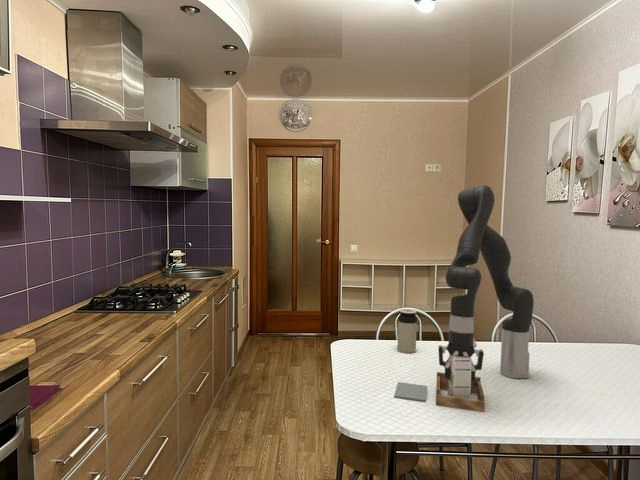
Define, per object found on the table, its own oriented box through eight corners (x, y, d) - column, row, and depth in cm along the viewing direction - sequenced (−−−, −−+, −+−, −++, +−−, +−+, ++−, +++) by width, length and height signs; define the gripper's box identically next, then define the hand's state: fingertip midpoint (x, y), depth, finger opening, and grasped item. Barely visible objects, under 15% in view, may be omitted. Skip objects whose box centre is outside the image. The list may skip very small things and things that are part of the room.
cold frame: (479, 393, 135) (480, 377, 135) (484, 411, 122) (484, 394, 122) (436, 387, 139) (436, 371, 139) (435, 404, 126) (436, 387, 126)
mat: (427, 387, 139) (427, 385, 139) (426, 402, 128) (426, 400, 128) (397, 383, 142) (397, 381, 142) (394, 397, 130) (394, 395, 130)
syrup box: (471, 403, 128) (472, 358, 127) (452, 402, 128) (454, 357, 127) (464, 395, 133) (466, 352, 133) (446, 394, 133) (448, 351, 133)
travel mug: (411, 354, 174) (413, 313, 173) (394, 351, 178) (395, 310, 177) (418, 350, 180) (419, 310, 180) (401, 346, 185) (402, 307, 184)
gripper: (484, 328, 131) (482, 378, 132) (438, 324, 135) (436, 373, 136) (486, 334, 124) (484, 387, 125) (438, 329, 128) (436, 381, 129)
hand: (459, 380), depth 130 cm, fingers closed on syrup box, 6 cm apart
